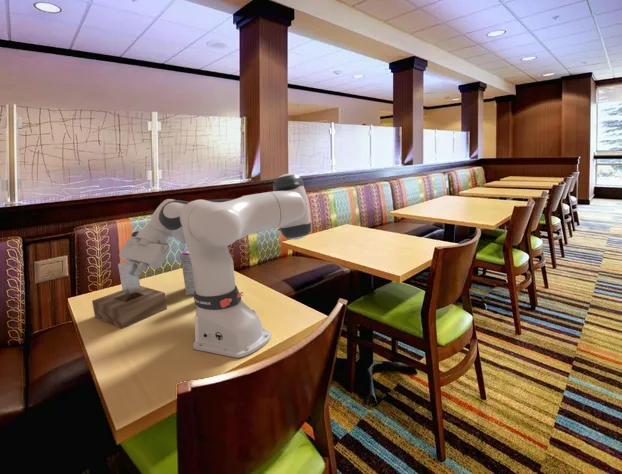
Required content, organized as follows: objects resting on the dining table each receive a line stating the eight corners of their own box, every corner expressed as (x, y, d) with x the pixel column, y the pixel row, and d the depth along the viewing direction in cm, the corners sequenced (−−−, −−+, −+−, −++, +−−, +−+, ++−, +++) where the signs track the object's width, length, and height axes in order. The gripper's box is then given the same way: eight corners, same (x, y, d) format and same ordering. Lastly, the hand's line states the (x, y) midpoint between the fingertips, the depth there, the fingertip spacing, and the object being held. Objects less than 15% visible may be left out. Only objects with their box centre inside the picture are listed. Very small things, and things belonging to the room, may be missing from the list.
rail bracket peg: (140, 290, 124) (136, 262, 121) (129, 294, 121) (124, 265, 118) (133, 288, 126) (129, 260, 124) (122, 292, 123) (117, 263, 120)
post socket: (167, 308, 126) (164, 292, 124) (122, 328, 113) (119, 310, 111) (139, 300, 134) (137, 284, 133) (95, 317, 121) (91, 300, 120)
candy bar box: (194, 284, 148) (189, 245, 144) (206, 284, 147) (202, 245, 144) (185, 295, 137) (179, 253, 133) (198, 295, 137) (193, 253, 133)
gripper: (177, 247, 124) (155, 283, 119) (142, 241, 135) (121, 274, 130) (164, 238, 120) (141, 275, 114) (129, 232, 131) (106, 265, 125)
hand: (130, 274), depth 122 cm, fingers closed on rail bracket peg, 4 cm apart
